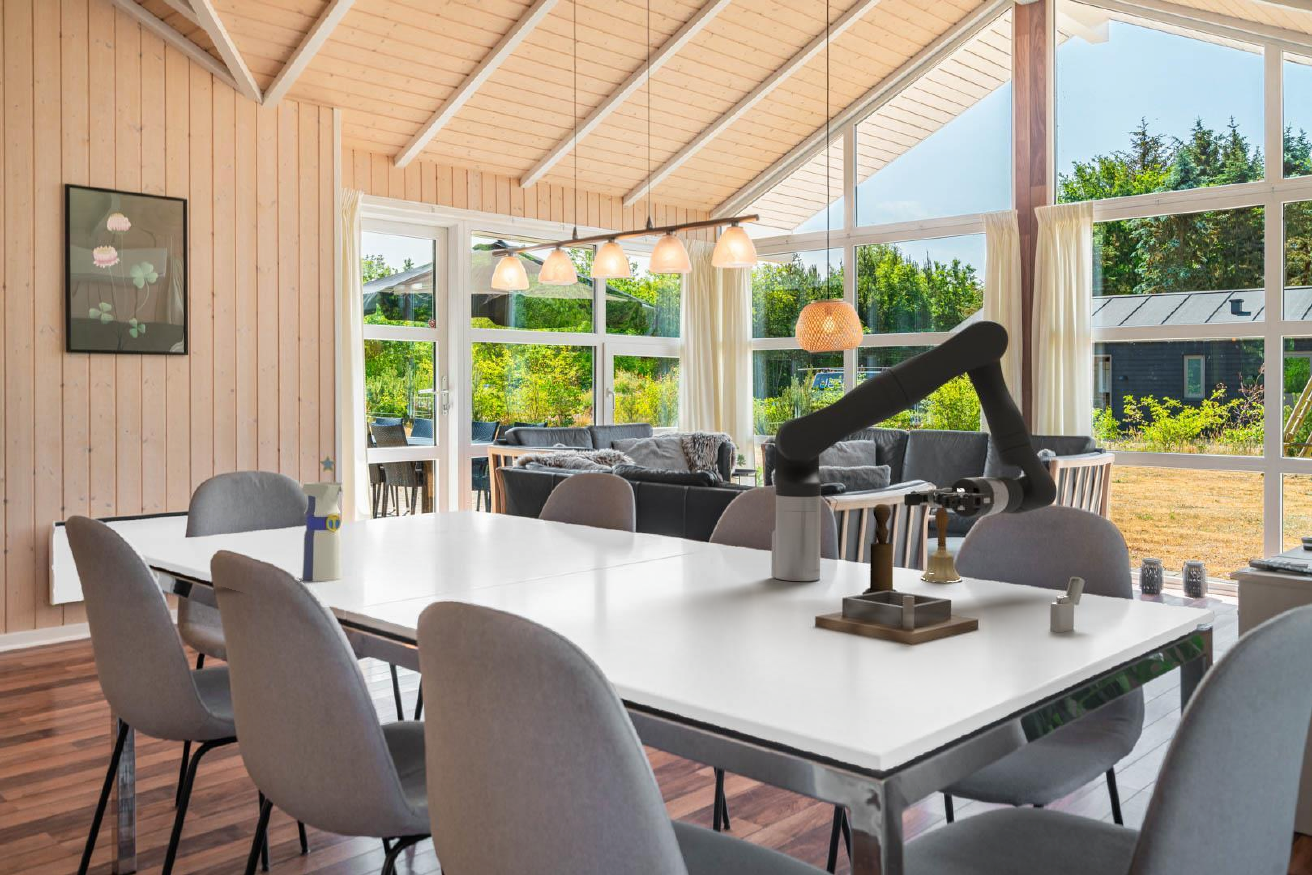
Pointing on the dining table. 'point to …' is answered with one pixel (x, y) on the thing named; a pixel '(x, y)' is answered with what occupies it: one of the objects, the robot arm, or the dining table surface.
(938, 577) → the hand bell
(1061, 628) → the lighter
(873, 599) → the collar plate
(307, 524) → the cream gift bag
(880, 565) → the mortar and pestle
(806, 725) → the dining table surface
